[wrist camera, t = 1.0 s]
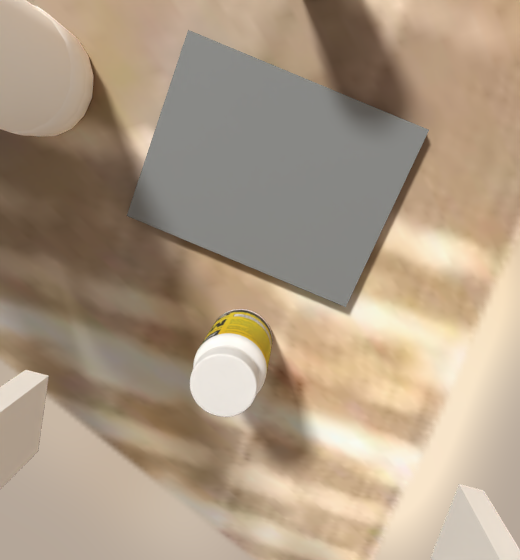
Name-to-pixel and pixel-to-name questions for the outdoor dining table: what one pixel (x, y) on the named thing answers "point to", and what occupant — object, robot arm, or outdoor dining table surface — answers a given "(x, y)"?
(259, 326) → the supplement bottle
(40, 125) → the bottle
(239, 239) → the slate mat
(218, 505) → the outdoor dining table surface
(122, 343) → the outdoor dining table surface
